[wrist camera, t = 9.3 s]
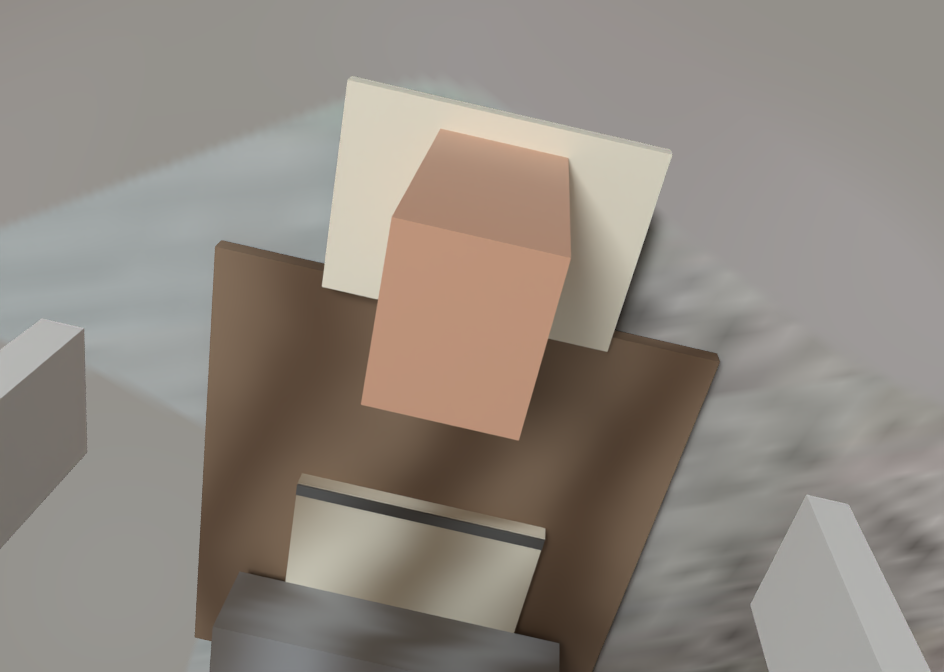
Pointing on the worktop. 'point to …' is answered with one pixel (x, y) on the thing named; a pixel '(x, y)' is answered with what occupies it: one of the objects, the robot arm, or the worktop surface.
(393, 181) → the tan blocky piece
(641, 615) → the worktop surface
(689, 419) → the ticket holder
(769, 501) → the worktop surface
